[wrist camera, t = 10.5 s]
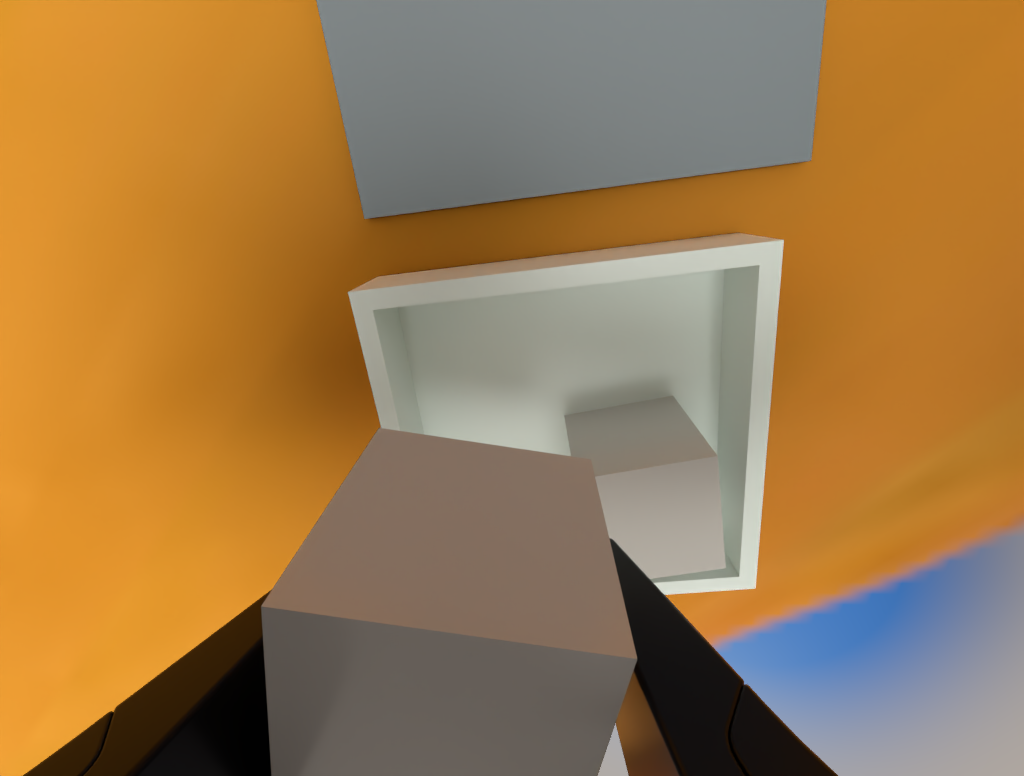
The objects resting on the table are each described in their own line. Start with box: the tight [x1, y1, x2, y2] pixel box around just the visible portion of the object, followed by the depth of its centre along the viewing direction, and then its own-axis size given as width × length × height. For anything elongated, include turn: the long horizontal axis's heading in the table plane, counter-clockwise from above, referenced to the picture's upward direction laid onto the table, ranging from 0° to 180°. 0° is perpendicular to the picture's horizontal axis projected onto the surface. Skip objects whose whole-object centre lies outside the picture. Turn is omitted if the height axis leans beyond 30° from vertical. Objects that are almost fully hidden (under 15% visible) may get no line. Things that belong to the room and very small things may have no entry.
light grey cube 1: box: [564, 396, 726, 579], centre depth 16 cm, size 4×4×4 cm
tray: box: [348, 233, 784, 595], centre depth 17 cm, size 12×12×3 cm
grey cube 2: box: [261, 428, 637, 776], centre depth 8 cm, size 4×4×4 cm
